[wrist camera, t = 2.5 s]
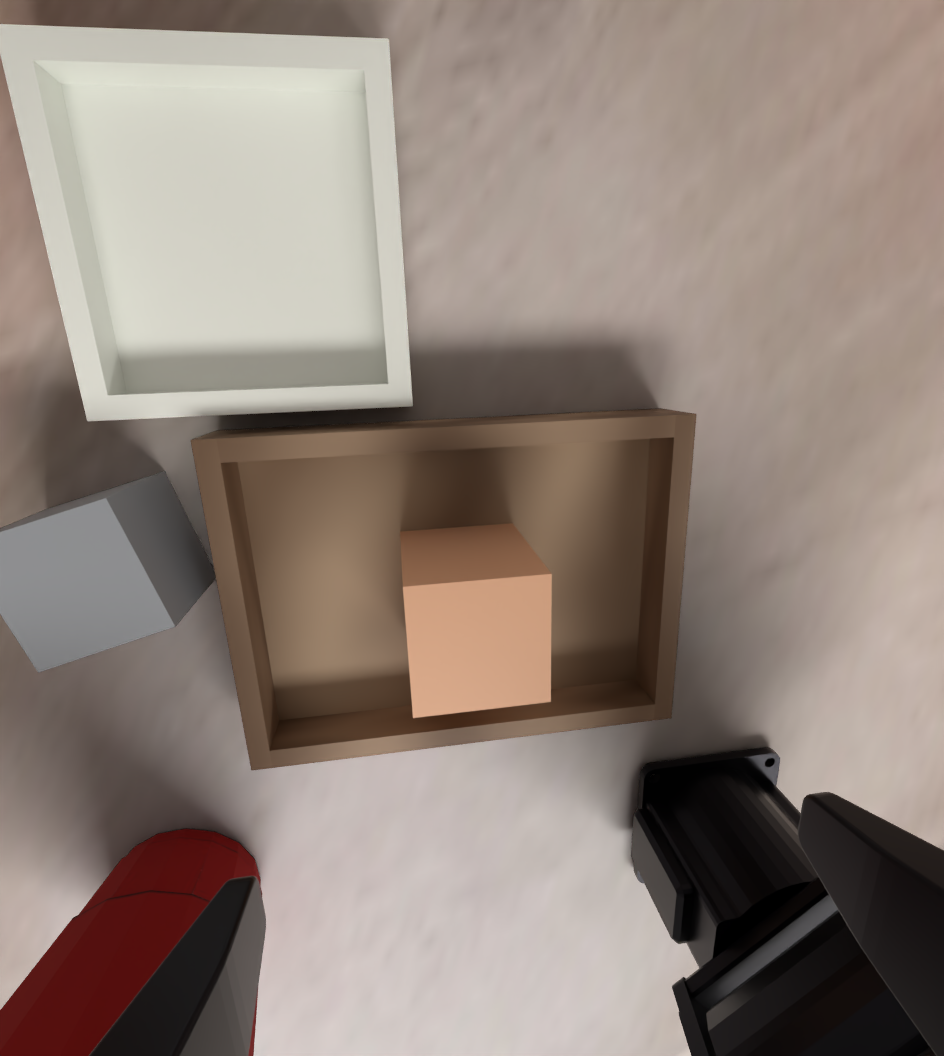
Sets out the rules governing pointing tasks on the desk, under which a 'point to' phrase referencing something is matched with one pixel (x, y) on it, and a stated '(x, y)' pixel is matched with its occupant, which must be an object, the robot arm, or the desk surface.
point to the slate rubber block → (100, 571)
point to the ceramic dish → (217, 216)
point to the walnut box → (434, 503)
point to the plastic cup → (119, 943)
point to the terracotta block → (475, 619)
